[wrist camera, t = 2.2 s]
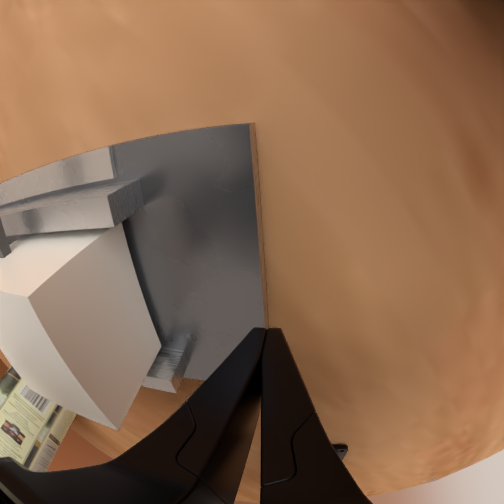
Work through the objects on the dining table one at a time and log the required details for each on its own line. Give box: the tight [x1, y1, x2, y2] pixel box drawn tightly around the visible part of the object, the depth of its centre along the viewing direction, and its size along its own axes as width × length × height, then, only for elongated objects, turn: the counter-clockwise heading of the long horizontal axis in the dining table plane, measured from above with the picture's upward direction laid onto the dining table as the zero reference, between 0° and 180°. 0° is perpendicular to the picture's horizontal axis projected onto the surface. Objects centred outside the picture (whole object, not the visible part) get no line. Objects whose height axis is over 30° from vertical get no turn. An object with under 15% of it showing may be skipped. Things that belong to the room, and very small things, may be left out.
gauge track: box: [0, 123, 269, 393], centre depth 11 cm, size 12×28×7 cm, turn 95°
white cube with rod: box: [0, 218, 161, 431], centre depth 9 cm, size 9×15×5 cm, turn 95°
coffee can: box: [0, 365, 77, 472], centre depth 17 cm, size 10×10×14 cm
